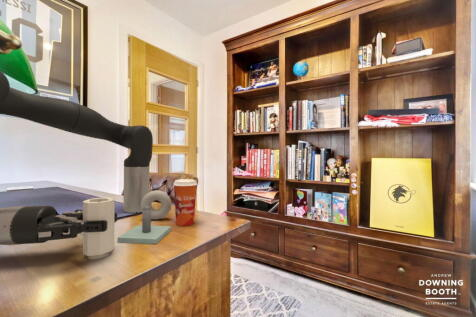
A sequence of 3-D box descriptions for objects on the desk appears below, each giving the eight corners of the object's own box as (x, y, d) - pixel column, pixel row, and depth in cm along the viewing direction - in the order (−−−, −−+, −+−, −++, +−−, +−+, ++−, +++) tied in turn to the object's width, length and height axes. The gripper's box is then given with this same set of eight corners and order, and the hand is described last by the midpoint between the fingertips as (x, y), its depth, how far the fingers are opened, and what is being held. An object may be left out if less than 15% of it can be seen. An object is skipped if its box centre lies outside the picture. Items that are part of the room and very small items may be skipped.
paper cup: (172, 228, 66) (172, 181, 66) (172, 220, 74) (173, 179, 74) (198, 226, 69) (199, 181, 68) (196, 219, 76) (197, 178, 76)
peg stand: (138, 229, 65) (138, 201, 65) (171, 230, 64) (171, 202, 64) (117, 242, 55) (117, 209, 55) (156, 244, 54) (156, 210, 54)
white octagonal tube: (91, 245, 50) (91, 197, 50) (116, 244, 51) (116, 197, 51) (78, 256, 45) (78, 203, 45) (107, 254, 46) (107, 202, 46)
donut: (172, 217, 77) (172, 189, 77) (170, 220, 74) (170, 191, 74) (142, 218, 76) (142, 189, 76) (139, 221, 73) (139, 191, 72)
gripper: (-10, 216, 38) (98, 213, 42) (45, 199, 52) (122, 197, 56) (-9, 259, 38) (98, 252, 42) (45, 230, 53) (122, 227, 56)
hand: (111, 221), depth 49 cm, fingers closed on white octagonal tube, 5 cm apart
